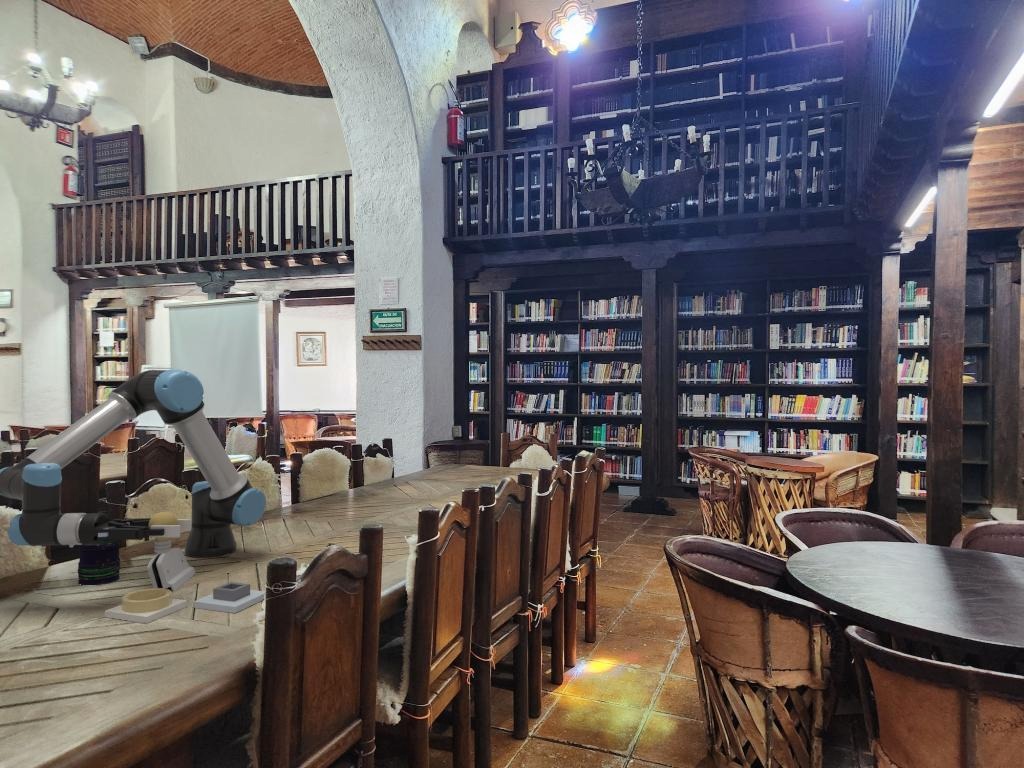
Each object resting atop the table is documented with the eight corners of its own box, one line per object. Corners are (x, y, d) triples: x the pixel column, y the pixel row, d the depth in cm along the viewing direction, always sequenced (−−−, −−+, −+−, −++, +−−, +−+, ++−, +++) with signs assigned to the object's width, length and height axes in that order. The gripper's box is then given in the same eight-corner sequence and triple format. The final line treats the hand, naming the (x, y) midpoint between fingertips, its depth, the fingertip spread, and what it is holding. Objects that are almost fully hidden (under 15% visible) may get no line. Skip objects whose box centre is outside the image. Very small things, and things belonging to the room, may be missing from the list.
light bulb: (146, 557, 154) (147, 515, 154) (148, 551, 160) (149, 510, 160) (177, 554, 157) (177, 513, 157) (177, 548, 163) (178, 508, 163)
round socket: (147, 601, 161) (148, 585, 161) (187, 606, 157) (187, 590, 157) (104, 617, 149) (105, 600, 149) (146, 623, 146) (146, 605, 146)
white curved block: (174, 591, 168) (161, 555, 168) (155, 598, 168) (142, 562, 167) (196, 573, 185) (184, 540, 184) (179, 579, 184) (167, 546, 184)
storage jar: (69, 582, 174) (70, 527, 174) (105, 573, 183) (106, 520, 183) (92, 588, 170) (93, 531, 170) (128, 578, 179) (129, 524, 179)
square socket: (228, 592, 168) (228, 577, 168) (267, 597, 165) (268, 582, 165) (193, 607, 157) (194, 591, 157) (235, 613, 153) (235, 596, 153)
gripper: (104, 535, 166) (199, 534, 169) (61, 555, 147) (169, 553, 149) (105, 506, 166) (199, 505, 169) (62, 521, 147) (169, 520, 149)
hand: (185, 528), depth 159 cm, fingers closed on light bulb, 6 cm apart
